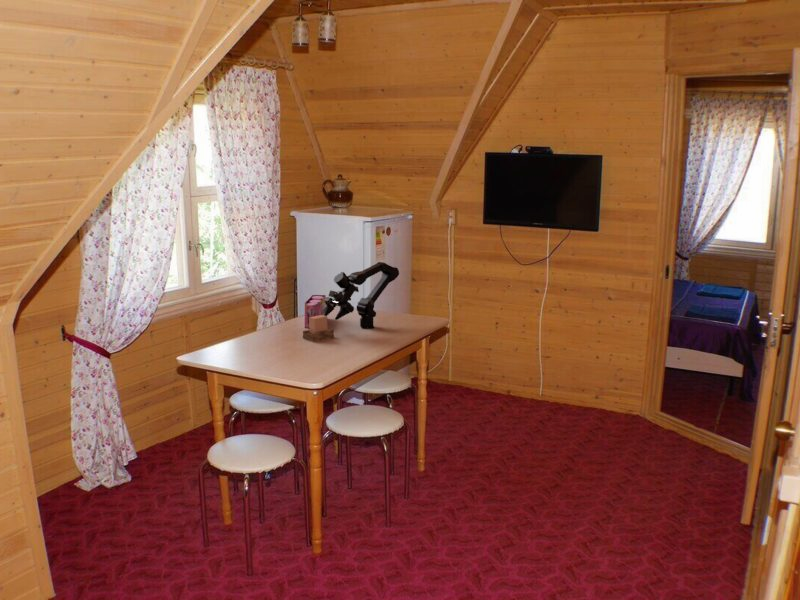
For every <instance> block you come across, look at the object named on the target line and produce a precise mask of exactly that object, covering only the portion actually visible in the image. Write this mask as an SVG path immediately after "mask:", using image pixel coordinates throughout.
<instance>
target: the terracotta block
mask: <svg viewBox="0 0 800 600" xmlns="http://www.w3.org/2000/svg"><path fill="white" fill-rule="evenodd" d="M308 330H309V334H311V335H312V333H317V332H321V331H326V330H328V315H327V316H324V315H319V316H313V317H309V329H308Z"/></svg>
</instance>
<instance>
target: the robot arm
mask: <svg viewBox="0 0 800 600" xmlns="http://www.w3.org/2000/svg"><path fill="white" fill-rule="evenodd" d="M380 272H381V278H380V279H379V281H377V283H376V284H375V286H374V287H373V289H372V290H371V291H370V293H369V295H368V296H367V297H365V298H364V297H361V298H360V299H359V301H358V302H357V305H356V311H357V314H358V315H359V316H360V318H359V326H360V328H361V329H364V328H365V329H375V326H374V318H375V317H376V316H377V312H376V311H375V309H374V308H375V303H376V302H377V300H378V299H379V297H380V296H381V295H382V294H383V292H384V290H385V289H386V288H387V286H388V285H389V284H390V283H392V282H394V281H395V280H396V279H397V278H398V277H399V275H400V269H399V268H398V267H396V266H395V267H394V266H392V265H389V264H387V263H386V262H382V261H378V262H376V263H375V264H373V265H371V266H370V267H368V268H365V269H363V270H361V271H360V270H359V271H355V272H352V273H350V274H349V275H347V274H346V273H345V272H344V271H341V272H340V273H338V274H337V275H335V276H334V278H333V282H334V283H335V284H336V285H337V286H338V287H339V288H340V289H342V290H338V291H334V290H330V291H329V293H328V296H327V297H326V298H325V300H324V301H325V303H326V310H325V314H324V316H327V317H328V316H329V315H330V314H331V313H332V312H333V311H334V310H335V308H336V307H339V311H338V313H336V316H335V320H336V321H338V320H339V319H341V318H343V317H344V316H347V315H348V314H350V313H353V312H354V311H355V307H354V306H353V305H352V304H351V303H350V302H349V301H352V298H351V297H352V296H353V294H354V293H355V292H356V293H358V292H359V287H358V286H362V285H363V284H364V283H366V281H367V280H368V279H369V278H371V277H373V276H374V275H376V274H378V273H380ZM356 285H357V286H356ZM365 329H364V330H365Z"/></svg>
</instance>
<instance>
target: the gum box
mask: <svg viewBox="0 0 800 600" xmlns="http://www.w3.org/2000/svg"><path fill="white" fill-rule="evenodd" d="M326 296H327V295H326V294H325V295H324V294H312V295H311V296H310V297H309V298H308V299H307V300H306V301H305V302H304V328H305V327H306V329H308V328H309V317H313V316H319V315H324V314H325V310H326V303H325V301H324V300H325V298H326Z"/></svg>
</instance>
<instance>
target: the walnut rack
mask: <svg viewBox="0 0 800 600" xmlns="http://www.w3.org/2000/svg"><path fill="white" fill-rule="evenodd" d="M334 332H335V331H334V329H327V330H326V331H321V332H317V333H312V335H311V334H309V329H306V330H302V339H303V338H304V339H303V340H307V341H309V342H311V343H312V342H313V343H315V342H320V341H323V340H329V339H333V338H335V335H334Z"/></svg>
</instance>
